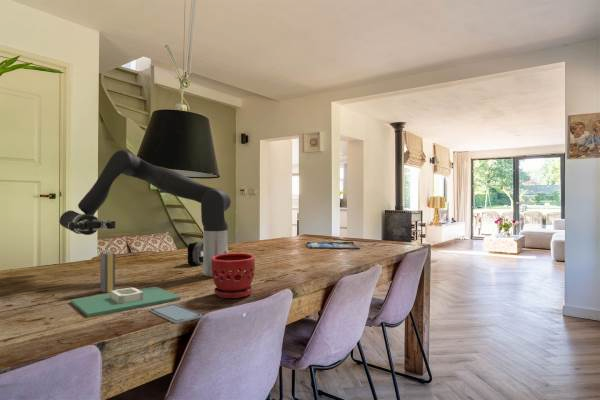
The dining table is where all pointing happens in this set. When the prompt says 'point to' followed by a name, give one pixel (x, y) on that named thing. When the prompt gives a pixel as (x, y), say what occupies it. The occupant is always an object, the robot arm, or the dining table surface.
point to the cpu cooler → (195, 253)
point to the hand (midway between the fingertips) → (97, 226)
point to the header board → (123, 300)
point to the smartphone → (175, 313)
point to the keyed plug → (107, 272)
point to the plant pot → (233, 274)
